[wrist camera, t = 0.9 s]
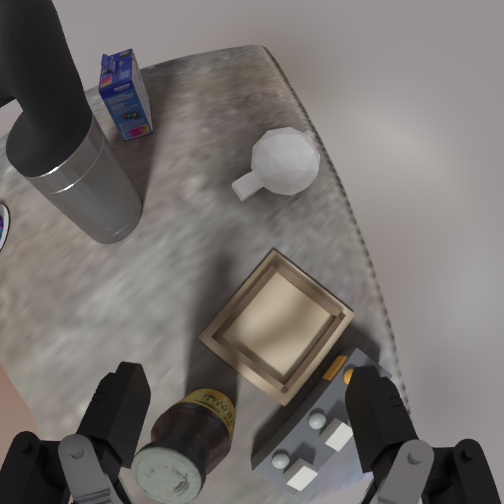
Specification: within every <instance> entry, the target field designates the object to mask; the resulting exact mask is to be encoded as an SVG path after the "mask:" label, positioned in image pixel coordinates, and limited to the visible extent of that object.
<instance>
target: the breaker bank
mask: <svg viewBox="0 0 504 504" xmlns="http://www.w3.org/2000/svg"><path fill="white" fill-rule="evenodd" d="M369 365H374V366H375V367H376V368H377V370H378V373H379V375H380V377H385V376H387V377H388V378H389V379H390V378H391V377H392V375H391V374H390V373H389V372H388V371H386V370H385V369H384V368H382V367H381V366H380V365H379V364H377V363H376V362H375V361H373V360H372V359H371V358H370V357H368V356H367V355H366V354H364V353H363V352H362V351H361V350H359V349H358V348H357V347H356V348H344V349H343V350H342V351H341V353H340V354H339V356H338V357H337V358H336V359H335V361H334V362H333V364H332V365H331V366H330V368H329V369H328V370H327V372H326V373H325V374H324V375H323V377H322V378H321V380H320V381H319V382H318V383H317V385H316V386H315V387H314V389H313V390H312V391H311V392H310V394H309V395H308V396H307V397H306V398H305V400H304V401H303V402H302V403H301V404H300V406H299V407H298V408H297V409H296V410H295V411H294V413H293V414H292V415H291V416H290V417H289V418H288V420H287V421H286V422H285V423H284V424H283V425H282V426H281V427H280V428H279V430H278V431H277V432H276V433H275V434H274V435H273V436H272V437H271V438H270V439H269V440H268V441H267V442H266V443H265V444H264V446H263V447H262V448H261V449H260V450H259V451H258V452H257V453H256V454H255V455H254V456H253V457H252V458H251V465H252V472H254V473H256V474H257V475H259V476H261V477H262V478H264V479H266V480H268V481H269V482H271V483H273V484H275V485H277V486H278V487H280V488H282V489H284V490H286V491H288V492H290V493H292V494H295V493H296V492H297V491H298V490H299V491H301V490H302V489H303V488H304V487H305V486H306V485H307V484H308V483H309V482H310V481H311V480H312V479H313V478H314V477H315V476H316V475H317V474H318V472H317V471H318V470H319V469H320V468H321V467H322V466H323V465H324V464H325V462H326V461H327V460H328V459H329V458H330V457H331V456H332V455H333V454H334V452H335V451H336V450H337V451H338V452H339V450H340V449H341V448H342V447H343V446H344V445H345V443H346V442H347V441H348V440H349V439H350V437H351V436H352V435H353V432H352V428H351V424H350V420H349V417H348V413H347V409H346V405H345V392H346V389H347V386H348V384H349V381H350V378H351V375H352V372H353V369H354V368H355V367H360V366H369Z"/></svg>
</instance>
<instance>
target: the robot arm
mask: <svg viewBox="0 0 504 504" xmlns="http://www.w3.org/2000/svg"><path fill="white" fill-rule="evenodd" d="M14 99H17V101H18V102H19V104H20V106H21V108H22V109H23V112H22V113H21V115H20V116H19V118H18V119H17V121H16V122H15V123H14V125H13V127H12V129H11V131H10V134H9V136H8V139H7V143H6V154H7V158H8V160H9V161H10V163H11V164H12V165H13V166H14V167H15V168H16V169H17V171H18V172H19V173H20V174H22V175H23V176H24V177H25V178H26V179H27V180H28V181H29V182H30V183H31V184H32V185H33V186H34V187H35V188H36V189H37V190H38V191H39V192H40V193H41V194H43V195H44V196H45V197H46V198H47V199H48V200H49V201H50V202H51V203H52V204H53V205H54V206H56V207H57V208H58V209H59V210H60V211H61V212H62V213H63V214H64V215H66V216H67V217H68V218H69V219H70V220H71V221H72V222H74V223H75V224H76V225H77V226H78V227H79V228H80V229H82V230H83V231H84V232H85V233H86V234H88V235H89V236H90V237H91V238H92V239H94V240H95V241H97V242H100V243H105V244H109V243H115V242H117V241H120V240H122V239H123V238H125V237H126V236H127V235H129V234H130V233H131V232H132V231H133V229H134V228H135V227H136V225H137V223H138V221H139V219H140V216H141V212H142V202H141V199H140V196H139V194H138V193H137V191H136V189H135V188H134V186H133V184H132V183H131V181H130V179H129V177H128V175H127V174H126V172H125V170H124V169H123V167H122V165H121V163H120V162H119V160H118V158H117V156H116V155H115V153H114V151H113V149H112V147H111V146H110V144H109V142H108V140H107V138H106V136H105V135H104V133H103V131H102V129H101V127H100V126H99V124H98V122H97V120H96V118H95V116H94V114H93V112H92V110H91V108H90V106H89V105H88V102H87V100H86V97H85V93H84V90H83V86H82V83H81V79H80V76H79V74H78V71H77V69H76V67H75V64H74V62H73V59H72V57H71V54H70V51H69V48H68V45H67V43H66V39H65V36H64V33H63V30H62V26H61V23H60V20H59V18H58V15H57V11H56V9H55V7H54V4H53V2H52V0H0V108H1V107H2V106H4V105H6V104H7V103H9V102H11V101H12V100H14ZM150 399H151V391H150V387H149V384H148V381H147V379H146V376H145V373H144V370H143V367H142V365H141V364H138V363H131V362H124V361H122V362H121V363H120V364H119V366H118V368H117V370H116V373H111V372H110V373H108V374H107V375H106V376H105V377H104V378H103V379H102V380H101V381H100V383H99V385H98V387H97V389H96V393H94V395H93V397H92V401H91V402H90V404H89V406H88V408H87V410H86V412H85V415H84V417H83V419H82V421H81V423H80V426H79V428H78V430H77V432H76V433H75V434H71V435H68V436H66V437H65V438H64V439H63V440H62V441H45V440H40V439H39V438H38V437H37V436H36V435H35V434H34V433H32V432H29V431H24V432H20V433H19V434H17V435H16V436H15V437H14V439H13V441H12V443H11V446H10V448H9V451H8V453H7V455H6V458H5V460H4V463H3V465H2V468H1V470H0V504H68V502H69V498H70V495H72V497H73V503H71V504H134V502H133V500H132V498H131V496H130V494H129V493H128V491H127V489H126V487H125V485H124V483H123V481H122V479H121V477H120V475H119V472H120V468H121V467H125V468H129V469H131V465H132V461H133V458H134V454H135V451H136V447H137V444H138V440H139V437H140V433H141V430H142V427H143V423H144V420H145V417H146V413H147V410H148V407H149V404H150ZM345 405H346V409H347V413H348V417H349V420H350V424H351V428H352V432H353V435H354V439H355V443H356V447H357V451H358V455H359V459H360V463H361V467H362V471H363V473H366V472H371V471H372V472H373V476H374V478H373V479H372V481H371V483H370V484H369V486H368V488H367V490H366V492H365V493H364V495H363V497H362V499H361V500H360V502H359V504H418V501H419V499H420V497H421V498H422V503H423V504H501V501H500V498H499V495H498V491H497V488H496V485H495V482H494V479H493V476H492V474H491V471H490V468H489V465H488V463H487V460H486V457H485V455H484V452H483V450H482V448H481V446H480V444H479V443H478V442H476V441H475V440H473V439H464V440H462V441H460V442H459V443H458V444H457V445H456V446H455V447H445V448H433V447H431V446H430V445H429V444H428V443H426V442H425V441H422V440H419V438H418V436H417V435H416V432H415V430H414V427H413V425H412V422H411V420H410V417H409V415H408V413H407V410H406V408H405V406H404V403H403V401H402V399H401V398H400V394H399V392H398V390H397V388H396V386H395V384H394V383H393V382H392V381H391V380H390V379H389V378H388V377H387V376H385V377H380V375H379V373H378V370H377V368H376V367H375V366H374V365H369V366H360V367H355V368H354V369H353V372H352V375H351V378H350V381H349V384H348V386H347V389H346V392H345Z"/></svg>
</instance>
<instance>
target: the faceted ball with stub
mask: <svg viewBox="0 0 504 504" xmlns="http://www.w3.org/2000/svg"><path fill="white" fill-rule="evenodd" d="M319 163H320V154H319V152H318V150H317V148H316V146H315V144H314V143H313V141H312V139H311V137H310V136H308V135H306V134H304V133H302V132H300V131H298V130H296V129H294V128H292V127H285V128H280V129H274V130H268V131H267V132H266V133H265V134H264V135H263V136H262V137H261V138H260V139H259V140H258V141H257V142H256V143H255V145H254V146H253V149H252V159H251V169H252V172H250V173H247V174H245V175H244V176H242V177H241V178H239V179H238V180H236V181H235V182H233V183H232V188H233V190H234V191H235V192H236V194H237V195H238V197H239V198H240V200H241V201H243V200H245V199H246V198H248V197H249V196H251V195H252V194H254V193H255V192H257V191H258V190H259V189H261V188H262V187H265V188H266V189H268V190H269V191H271V192H273V193H277V194H283V195H291V196H292V195H294V194H296V193H298V192H301V191H303V190H304V189H306V188H307V187H309V185H310V184H311V183H312V182H313V181H314V180H315V178H316V177H317V175H318V170H319Z"/></svg>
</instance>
